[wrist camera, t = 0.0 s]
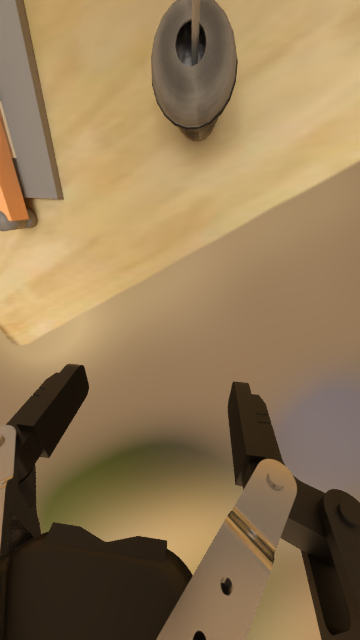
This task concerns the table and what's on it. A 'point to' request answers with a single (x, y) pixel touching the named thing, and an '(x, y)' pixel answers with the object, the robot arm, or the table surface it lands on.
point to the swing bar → (10, 191)
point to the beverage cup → (194, 65)
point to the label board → (25, 109)
